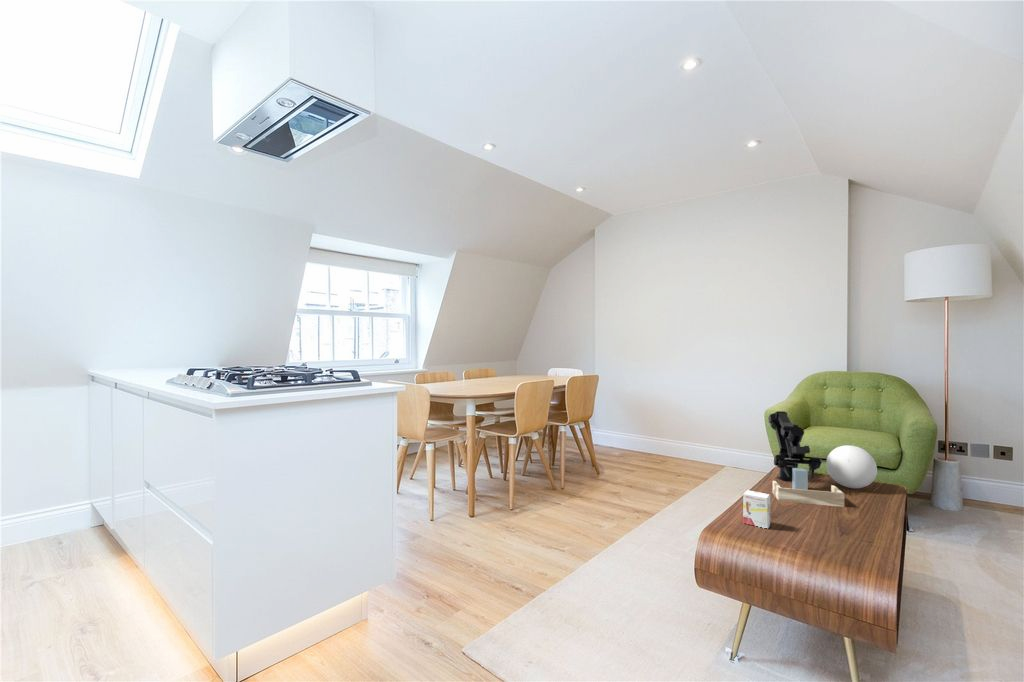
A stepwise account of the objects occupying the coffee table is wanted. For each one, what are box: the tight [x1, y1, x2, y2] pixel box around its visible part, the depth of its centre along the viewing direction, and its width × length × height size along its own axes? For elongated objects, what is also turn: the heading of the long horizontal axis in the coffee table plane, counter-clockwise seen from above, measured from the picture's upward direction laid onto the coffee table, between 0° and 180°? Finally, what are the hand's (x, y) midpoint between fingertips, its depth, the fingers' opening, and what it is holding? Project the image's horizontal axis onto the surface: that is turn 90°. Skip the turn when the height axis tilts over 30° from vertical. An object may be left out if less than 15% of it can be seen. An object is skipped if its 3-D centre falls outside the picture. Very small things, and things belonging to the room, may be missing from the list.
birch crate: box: [772, 480, 845, 508], centre depth 204 cm, size 12×24×6 cm, turn 72°
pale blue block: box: [791, 467, 809, 490], centre depth 214 cm, size 5×5×11 cm
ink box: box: [742, 489, 771, 530], centre depth 176 cm, size 9×5×12 cm, turn 50°
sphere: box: [825, 444, 878, 489], centre depth 223 cm, size 20×20×20 cm
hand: (800, 477), depth 213 cm, fingers open, 9 cm apart
